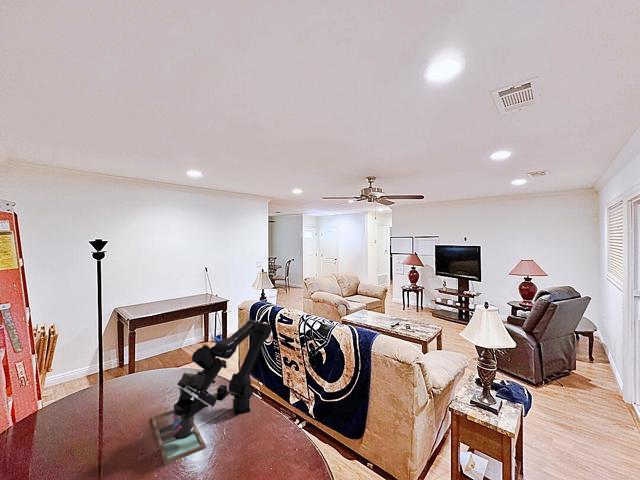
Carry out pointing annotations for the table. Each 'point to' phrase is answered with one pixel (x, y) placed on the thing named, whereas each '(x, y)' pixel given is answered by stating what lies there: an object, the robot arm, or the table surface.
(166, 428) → the compartment sorting tray
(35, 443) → the table surface
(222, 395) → the black box
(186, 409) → the supplement container
